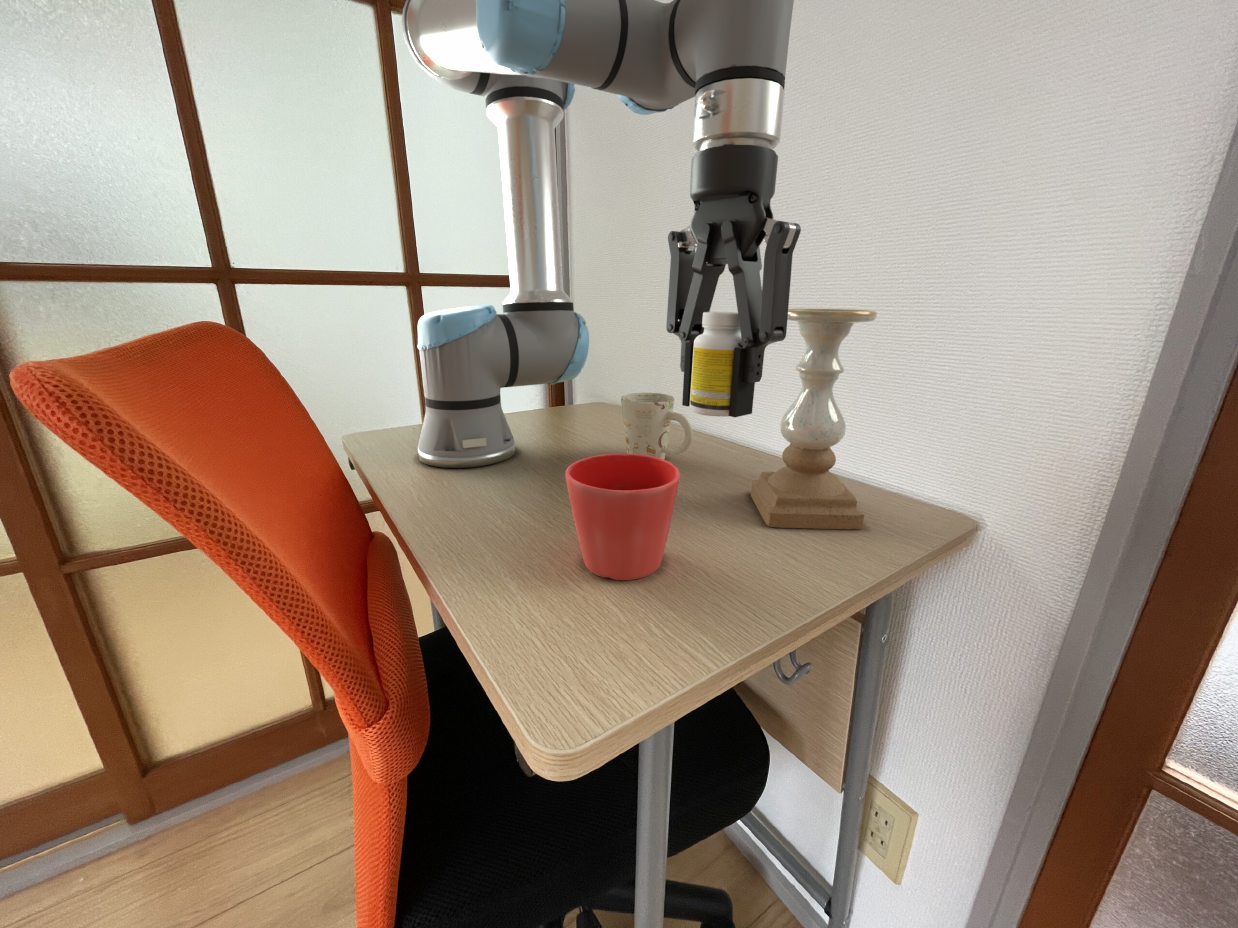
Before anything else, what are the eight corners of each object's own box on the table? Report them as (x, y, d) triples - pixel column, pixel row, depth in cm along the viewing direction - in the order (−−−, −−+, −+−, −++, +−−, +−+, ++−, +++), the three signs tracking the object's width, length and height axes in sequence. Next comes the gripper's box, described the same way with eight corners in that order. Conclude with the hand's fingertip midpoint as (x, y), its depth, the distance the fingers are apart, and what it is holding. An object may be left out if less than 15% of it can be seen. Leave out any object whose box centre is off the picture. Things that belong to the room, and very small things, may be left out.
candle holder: (767, 527, 60) (789, 311, 53) (749, 493, 71) (765, 308, 63) (864, 529, 60) (900, 312, 53) (831, 494, 70) (858, 308, 63)
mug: (639, 448, 91) (640, 390, 88) (704, 461, 84) (708, 399, 81) (610, 459, 85) (610, 398, 82) (678, 475, 78) (681, 408, 75)
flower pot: (597, 602, 46) (596, 498, 43) (552, 549, 55) (549, 461, 52) (697, 574, 50) (703, 478, 47) (640, 530, 60) (642, 447, 57)
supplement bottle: (744, 419, 51) (754, 314, 48) (688, 416, 52) (694, 313, 49) (741, 407, 56) (749, 311, 53) (690, 405, 57) (695, 310, 54)
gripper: (633, 162, 51) (628, 399, 58) (806, 119, 38) (772, 434, 45) (686, 173, 55) (676, 391, 63) (857, 139, 42) (818, 421, 50)
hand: (716, 408), depth 54 cm, fingers closed on supplement bottle, 5 cm apart
